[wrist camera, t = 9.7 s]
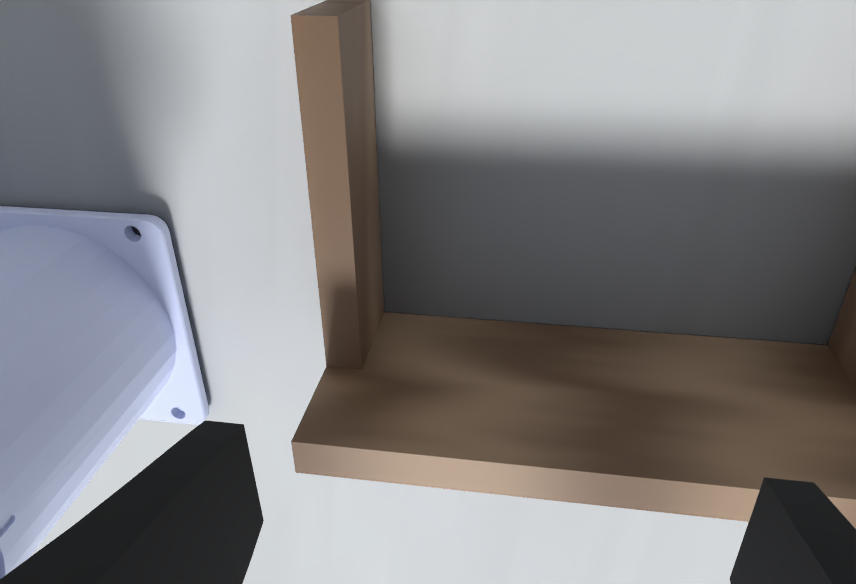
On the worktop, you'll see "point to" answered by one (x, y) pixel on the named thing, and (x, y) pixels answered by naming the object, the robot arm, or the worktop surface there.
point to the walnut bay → (537, 362)
